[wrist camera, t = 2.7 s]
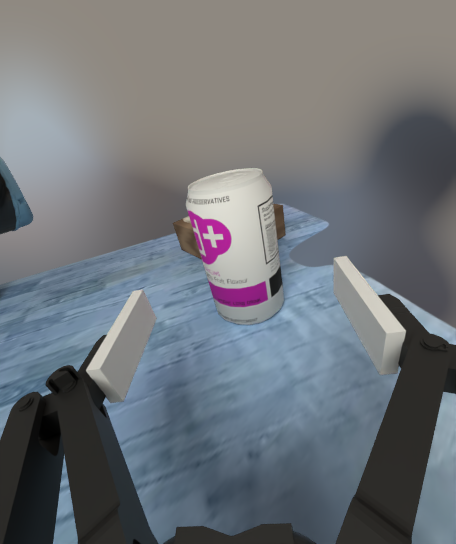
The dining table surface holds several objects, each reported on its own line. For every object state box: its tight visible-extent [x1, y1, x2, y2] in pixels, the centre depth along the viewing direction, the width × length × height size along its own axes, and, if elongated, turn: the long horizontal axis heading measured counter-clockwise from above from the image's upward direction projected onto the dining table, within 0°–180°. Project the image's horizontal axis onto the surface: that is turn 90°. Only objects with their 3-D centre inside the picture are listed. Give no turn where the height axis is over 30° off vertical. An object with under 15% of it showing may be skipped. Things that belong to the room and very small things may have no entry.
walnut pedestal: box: [173, 204, 285, 259], centre depth 45 cm, size 14×14×6 cm
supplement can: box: [186, 168, 284, 325], centre depth 27 cm, size 8×8×15 cm
